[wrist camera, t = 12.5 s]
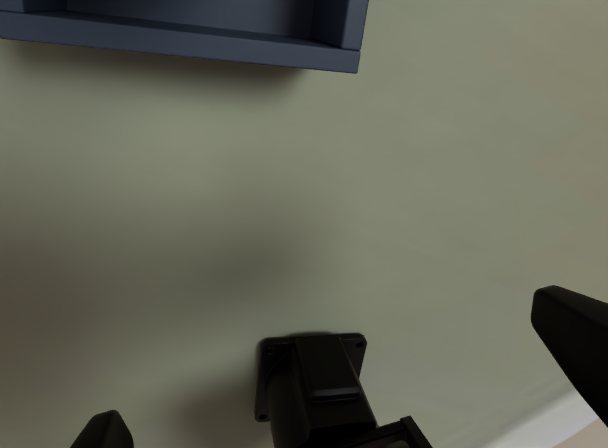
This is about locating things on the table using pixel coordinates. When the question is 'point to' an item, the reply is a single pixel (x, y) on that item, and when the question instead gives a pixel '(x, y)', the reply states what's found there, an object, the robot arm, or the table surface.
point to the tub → (200, 28)
